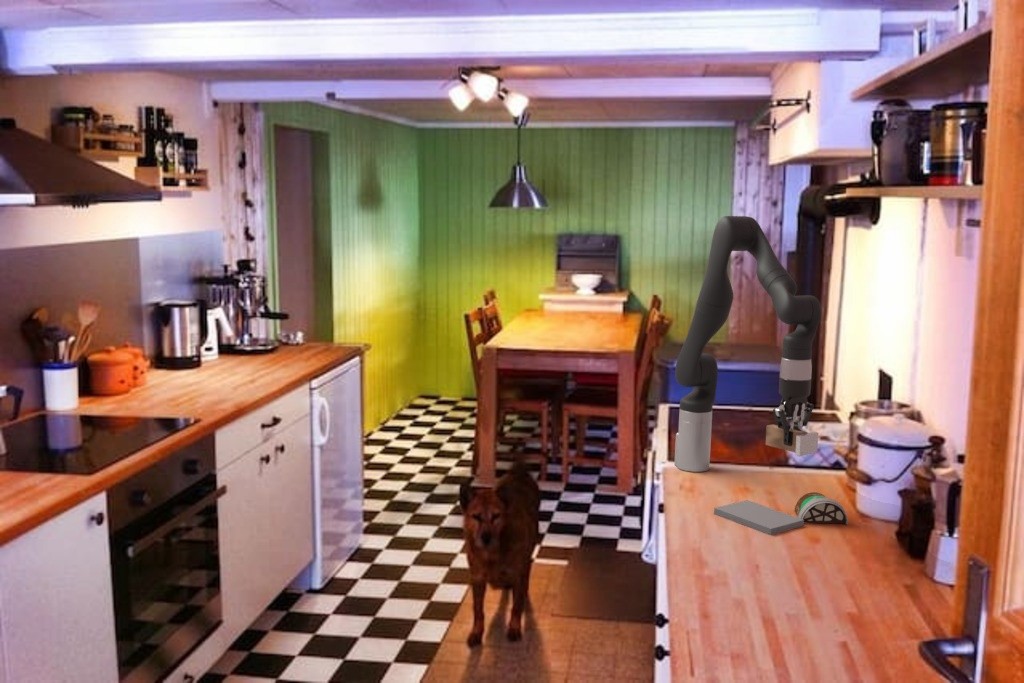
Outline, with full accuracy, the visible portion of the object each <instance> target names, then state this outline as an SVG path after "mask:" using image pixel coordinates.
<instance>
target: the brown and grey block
mask: <svg viewBox="0 0 1024 683" xmlns="http://www.w3.org/2000/svg"><path fill="white" fill-rule="evenodd" d="M765 427H766V428H765V429H766V430H765V446H769V447H772V448H775V449H780V450H785V451H789V452H792V453H795V456H796V457H803V456H808V455H812V454H816V453H818V446H819V445H818V444H819V443H818V442H819V432H818V431H811V432H806V431H802V430H801V431H797V430H793V442H792V446H787V445H784V442H783V438H784V430H783V429H780V428H778V426H777V424H768V425H766V426H765Z"/></svg>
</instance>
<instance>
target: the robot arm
mask: <svg viewBox="0 0 1024 683" xmlns="http://www.w3.org/2000/svg"><path fill="white" fill-rule="evenodd" d="M714 227H715V228H714V229H713V233H712V234H713V235H712V239H711V243H710V244H711V245H710V251H709V255H708V261H707V265H706V270H705V273H704V278H703V282H702V285H701V288H700V290H699V294H698V298H697V300H696V304H695V307H694V313H693V316H692V319H691V323H690V325H689V329H688V332H687V335H686V338H685V340H684V343H683V345H682V347H681V350H680V352H679V355H678V357H677V360H676V363H675V369H674V370H675V371H674V373H675V375H674V376H675V380H676V382H677V383H678V385H680V386H681V387H686V388H693V389H692V390H691V391H690V392H689V393H688V394H686V395H684V396H683V397H681V399H680V400H679V414H678V415H679V416H678V432H677V433H676V434H675V442H674V443H675V445H674V461H673V462H674V463H673V464H674V466H676V468H677V469H679V470H682V471H685V472H693V473H694V472H695V473H699V472H700V473H701V472H706V471H709V469H710V460H711V459H710V457H711V444H712V443H711V442H712V441H711V440H712V427H713V426H712V423H713V421H712V420H713V408H714V407H713V406H714V403H715V401H716V394H717V387H718V386H717V385H718V378H719V377H718V376H719V368H718V367H719V366H718V363H717V360H716V358H715V357H714V355H713V354H711V353H704V350H705V348H706V346H707V344H708V343H709V342H710V341H711V339H713V337H714V336H715V335H716V334H717V333H718V332H719V331H720V329H722V327H723V326H725V323H726V322H727V320H728V318H729V314H730V312H731V308H732V305H733V301H734V291H733V288H732V287H733V286H732V283H731V281H730V277H729V273H728V267H729V266H728V265H729V260H730V257H731V254H732V252H744V251H745V252H747V253H749V254H750V255H751V256H752V257H753V258H754V259H755V261H756V276H757V279H758V281H759V283H760V285H761V286H762V288H763V289H764V290H765V292H766V293H767V294H768V295H769V297H770V299H771V301H772V305H773V307H774V310H775V313H776V315H777V318H778V319H779V320H780V321H781V322H782V323H784V324H786V325H790V326H792V325H793V326H795V325H797V326H796V328H795V330H793V331H792V332H790V333H788V334H785V335H784V336H783V338H782V346H781V347H782V349H781V360H780V366H779V381H778V382H779V383H778V384H779V385H778V394H779V395H781V401H780V404H779V406H778V407H774V408H772V409H773V410H772V413H773V416H774V419H775V423H776V425H777V426H778V428H780V429H783V430H784V438H783V442H784V445H787V446H792V442H793V430H797V431H802V429H803V428H804V427H806V426H808V423H809V421H810V418H811V415H812V412H813V411H814V407H815V405H814V403H810V402H808V397H810V395H811V389H812V388H811V387H812V373H813V372H812V368H813V367H812V366H813V364H812V354H813V342H814V338H815V337H816V333H817V331H818V327H819V324H820V323H821V322H820V321H821V319H822V305H821V302H820V301H819V299H818V298H817V297H816V296H814V295H811V294H810V295H809V294H807V295H804V294H803V295H796V294H797V291H798V285H797V283H796V281H795V279H794V278H793V276H792V275H790V273H789V272H788V271H787V270H786V268H785V267H784V266H783V264H782V263H781V262H780V260H779V259H778V257H777V256H776V254H775V252H774V250H773V247H772V246H771V244H770V242H769V240H768V238H767V236H766V235H765V232H764V230H763V228H762V227H761V225H760V224H759V223H758V221H757V220H756V219H755V218H754V217H751V216H747V215H746V216H745V215H739V216H738V215H725V216H722V217H720V218H719V220H718V221H717V223H716V225H715V226H714Z"/></svg>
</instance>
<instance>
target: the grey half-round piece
mask: <svg viewBox="0 0 1024 683" xmlns="http://www.w3.org/2000/svg"><path fill="white" fill-rule="evenodd" d="M794 513H795V514H796V517H797V518H800V519H803V520H804V524H807V523H810V524H811V523H812V524H815V523H817V524H845V525H847V526H848V525H849V519H848V518H849V517H848V514H847V512H846V509H845V507H843V505H841V503H840V502H839V501H837V500H835V499H832V498H829V497H827V496H826V495H824V494H822V493H819V492H817V491H816V492H809V493H805V494H803V495H802V496H801V497H800V498H799V499H798V501H797V502H796V504H795V505H794Z"/></svg>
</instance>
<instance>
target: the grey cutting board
mask: <svg viewBox="0 0 1024 683" xmlns="http://www.w3.org/2000/svg"><path fill="white" fill-rule="evenodd" d="M713 514H714V515H715V516H718V517H721V518H724V519H726V520H730V521H732V522H735V523H738V524H741V525H743V526H745V527H748V528H751V529H753V530H756V531H759V532H762V533H764V534H767V535H770V536H772V535H775V534H778V533H784V532H786V531H790V530H793V529H798V528H801V527H804V526H805V523H804V520H803V519H800V518H798V517H797V516H795V515H792V514H789V513H786V512H783V511H780V510H777V509H774V508H771V507H769V506H766V505H762V504H760V503H756V502H754V501H752V500H748V499H746V500H742V501H738V502H734V503H729V504H725V505H721V506H717V507H714V509H713Z"/></svg>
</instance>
